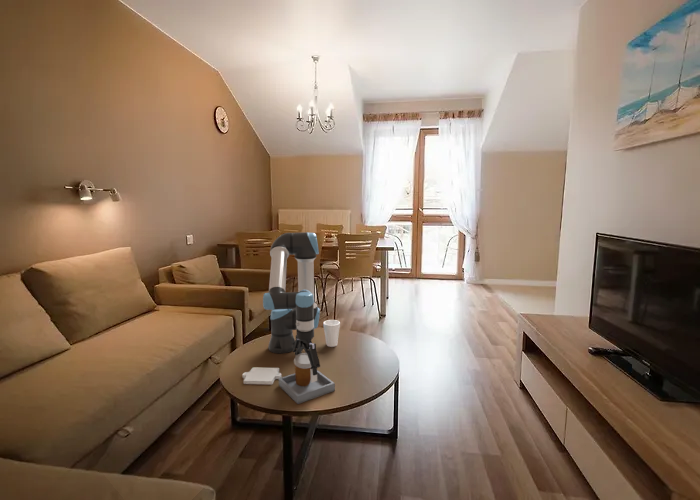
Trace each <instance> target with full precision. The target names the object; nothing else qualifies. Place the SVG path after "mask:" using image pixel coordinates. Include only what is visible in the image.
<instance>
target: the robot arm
mask: <svg viewBox="0 0 700 500" xmlns="http://www.w3.org/2000/svg"><path fill="white" fill-rule="evenodd" d="M319 254H320V251H319V244H318V238H317V234H316V233H315V232H307V231H306V232H304V231H303V232H285V233H283V234H281V235H279V236H278V237H277V238H276V239H275V240H274V241H273V242H272V244H271V246H270V249H269V255H270V257H271V261H270V272H269V282H268V283H269V285H268V292H265V293H263V294H262V295H263V296H262V307H263V309H264V310H265V311H266V310H268V311H270V317H269V319H270V328H271V329H270V331H271V335H270V339H269V342H268V351H269V352H270V353H274V354H287V353H291V352H293V353H294V356H296V355H298V354H301V353H303V351H304V353H307V355H308V358H309V361H310V364H311V367H310V369H311V383H312V382H315V381H317V370H318V368H321V363H320V359H319V354H318V352H317V350H318V349H317V344H316V343H312V339H313V338H314V337H315V330H316V329H317V328H318V326H319V323H320V315H321V313H320V311H321V310H320V307H318V304H317V303H316V302H315V272H314V271H315V270H314V269H315V268H314V267H315V266H314V261H315V259H317V255H319ZM290 255H291V256H292V255H294V259H295V260H296V262H297V289H298V291H293V292H292V291H291V292H289V291H288V292H286V288H287V287H286V285H287V284H286V283H287V265H288V264H287V262H288V261H287V260H288V258H289V256H290ZM293 331H296V335H295V337H294V333H293Z"/></svg>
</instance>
